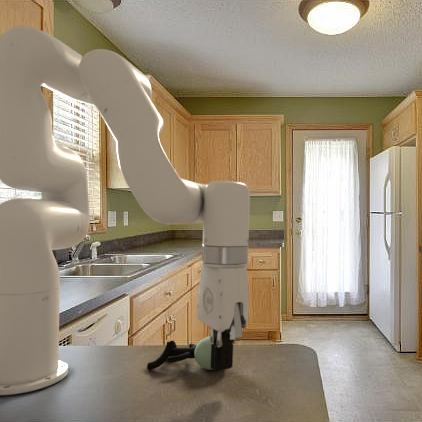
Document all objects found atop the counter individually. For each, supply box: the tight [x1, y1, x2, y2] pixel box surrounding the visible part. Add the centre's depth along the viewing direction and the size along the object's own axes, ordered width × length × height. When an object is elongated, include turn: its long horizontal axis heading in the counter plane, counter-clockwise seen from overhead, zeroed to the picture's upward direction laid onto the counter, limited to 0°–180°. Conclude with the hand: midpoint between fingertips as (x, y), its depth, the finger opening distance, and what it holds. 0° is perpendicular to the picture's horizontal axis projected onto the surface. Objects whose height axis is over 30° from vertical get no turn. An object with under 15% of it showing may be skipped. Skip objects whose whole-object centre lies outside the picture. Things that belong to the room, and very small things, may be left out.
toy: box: [146, 335, 215, 371], centre depth 73 cm, size 10×6×15 cm
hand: (221, 367), depth 63 cm, fingers closed
